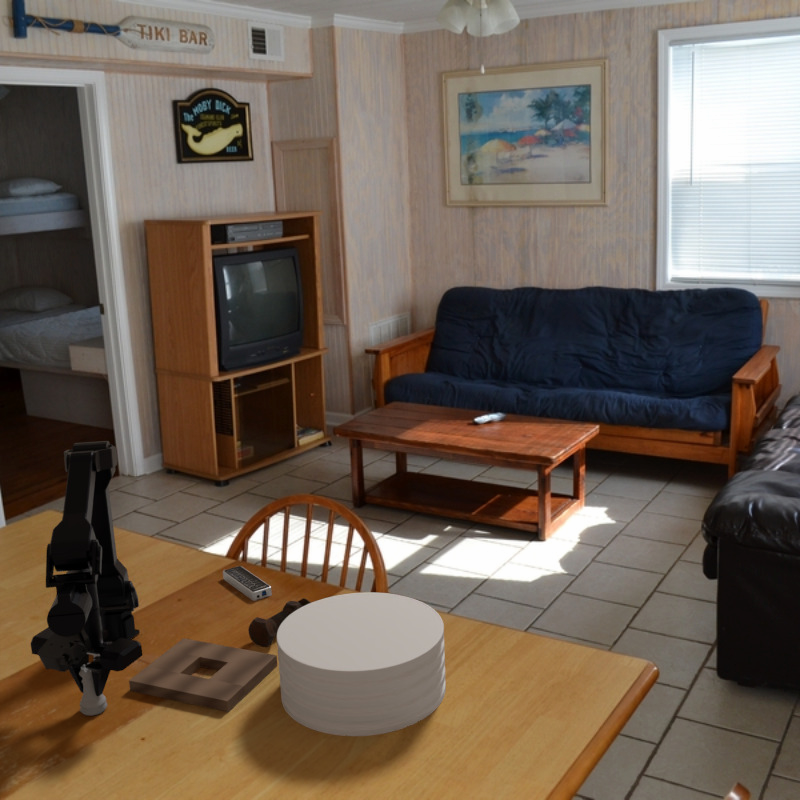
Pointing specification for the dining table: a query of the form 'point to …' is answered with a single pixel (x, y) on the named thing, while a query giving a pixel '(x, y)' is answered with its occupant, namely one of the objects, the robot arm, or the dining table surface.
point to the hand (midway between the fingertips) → (91, 693)
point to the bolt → (272, 624)
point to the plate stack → (361, 663)
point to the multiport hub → (247, 583)
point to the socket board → (218, 692)
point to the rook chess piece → (90, 695)
